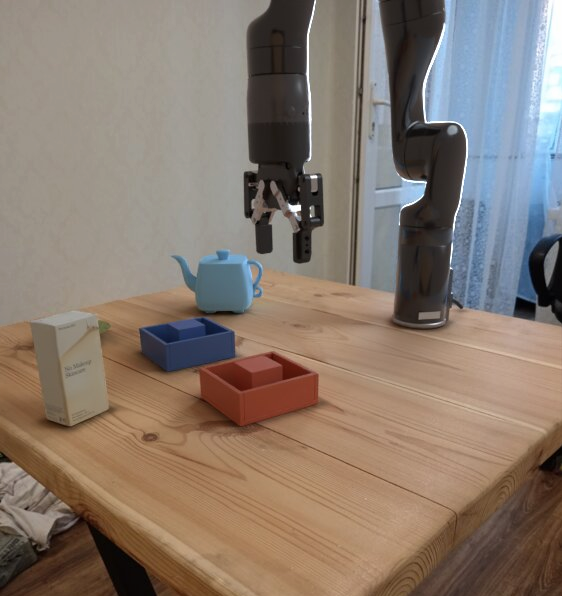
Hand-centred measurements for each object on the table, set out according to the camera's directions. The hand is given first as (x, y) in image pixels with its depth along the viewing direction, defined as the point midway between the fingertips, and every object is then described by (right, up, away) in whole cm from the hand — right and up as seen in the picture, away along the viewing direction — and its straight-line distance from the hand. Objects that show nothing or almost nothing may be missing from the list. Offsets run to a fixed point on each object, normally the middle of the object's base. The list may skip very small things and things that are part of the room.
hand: (282, 257), depth 74 cm
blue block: (-15, -11, +15) cm, 24 cm away
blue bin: (-15, -12, +15) cm, 24 cm away
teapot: (-13, -2, +41) cm, 43 cm away
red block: (-3, -18, -1) cm, 18 cm away
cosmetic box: (-25, -20, -4) cm, 32 cm away
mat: (-35, -9, +23) cm, 43 cm away
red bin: (-3, -18, -1) cm, 19 cm away
